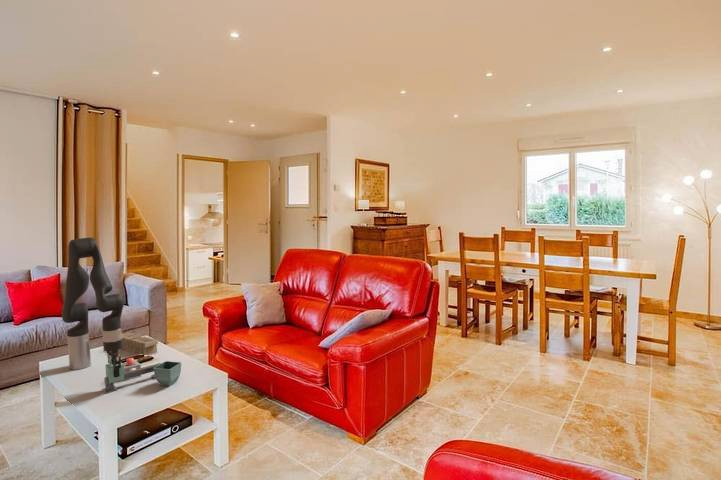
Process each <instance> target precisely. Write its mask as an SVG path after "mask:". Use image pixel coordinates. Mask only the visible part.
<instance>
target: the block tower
mask: <svg viewBox="0 0 721 480" xmlns="http://www.w3.org/2000/svg"><path fill="white" fill-rule="evenodd" d="M122 341H123V347H122V348H121V349H120V350H123V351H125V352H128V353H131V354H135V355H137V354H143V355H148V356H151V355H153V354H156V353H158V346H157V345H159V339H157V338H152V337H151V338H150V337H147V336H142V335H139V334H136V333H133V332H126V333H122Z"/></svg>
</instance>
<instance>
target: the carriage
mask: <svg viewBox="0 0 721 480" xmlns="http://www.w3.org/2000/svg"><path fill="white" fill-rule="evenodd" d="M123 364H124V363H122V362H121V368H119V373H120V376H119V377H116V378H115V377H114V373H113V365H111V364H109V363H107V364H105V365H104V366H105V377H108V379H109V383H112V382H114V383H116V382H115V381H117V382H120V381H119V380H121V381H123V379H124V367H123ZM116 366H118V364H117V365H116Z"/></svg>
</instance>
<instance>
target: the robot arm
mask: <svg viewBox="0 0 721 480" xmlns="http://www.w3.org/2000/svg"><path fill="white" fill-rule="evenodd" d="M67 253H68V254H67V256H68V257H67V258H68V259H67V262H68V264H67V274H66V278H65V279H66V280H65V294H64V299H63V305H62V310H61V318H62V321H63V322H64V323H65V324H71V323H76V322H78V323H77V324H76V325H74V326H72V327H71V328H69V329H67V331H66V335H67V336H66V337H67V338H66V339H67V349H68V363H69V365H68V366H69V370H73V371H74V370H76V371H77V370H83V369H86V368H88V367H90V366H91V365H92V358H91V348H90V346H91V345H90V343H91V342H90V331H89V307H88V304H87V303H86V302H79V303H77V301H78V300H79V299H80V298H81V297H82V296H83V295H84V294H85V293H86V292H87V290H88V288H89V283H90V284H91V286H92V288H93V290H94V294H95V306H96V309H97V310H98V311H99V312H100V313H106V312H107V313H108V312H111V313H110V314H108V315H107V316H105V317H103V318H102V320H101V321H102V323H101V324H102V347H103V351H104V352H106V355H107V364H111V365H113V373H114V377H115V378H116V377H119V376H120V373H119V368H121V363H122V356H121V355H120V354H121V353H120V352H119V350H122V349H121V348H122V347H123V341H122V334H123V331H122V323H121V319H122V314H123V310H124V305H125V299H124V297H123V295H121V294H119V293H114V294H109V293H110V292H111V291H113V284H112V282H111V280H110V279H109V277H108V274H107V271H106V268H105V265H104V261H103V257H102V254H101V251H100V247H99V245H98V241H97V240H96V239H95V238H94V237H92V236H91V237H82V238H81V237H80V238H75V239H71V240H70V241H69V242H68V246H67ZM85 258H92V260H93V264H92V268H91V271H90V274H89V273H88V272H87V271H86V269H85V268H83V266H81V264H80V263H79V261H80V259H85ZM107 294H109V295H107ZM117 364H118V366H116V365H117Z"/></svg>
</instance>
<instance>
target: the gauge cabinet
mask: <svg viewBox="0 0 721 480" xmlns="http://www.w3.org/2000/svg"><path fill="white" fill-rule="evenodd" d="M123 367H124V372H128V371H132V370H136V369H139V368H142V366H141V364H140V362H138V360H134V365H131V366H127V363H126V362H125V363H123ZM139 377H142V375H139V376H135V377H132V378H128V379H124V381H128V380H132V379H136V378H139Z"/></svg>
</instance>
